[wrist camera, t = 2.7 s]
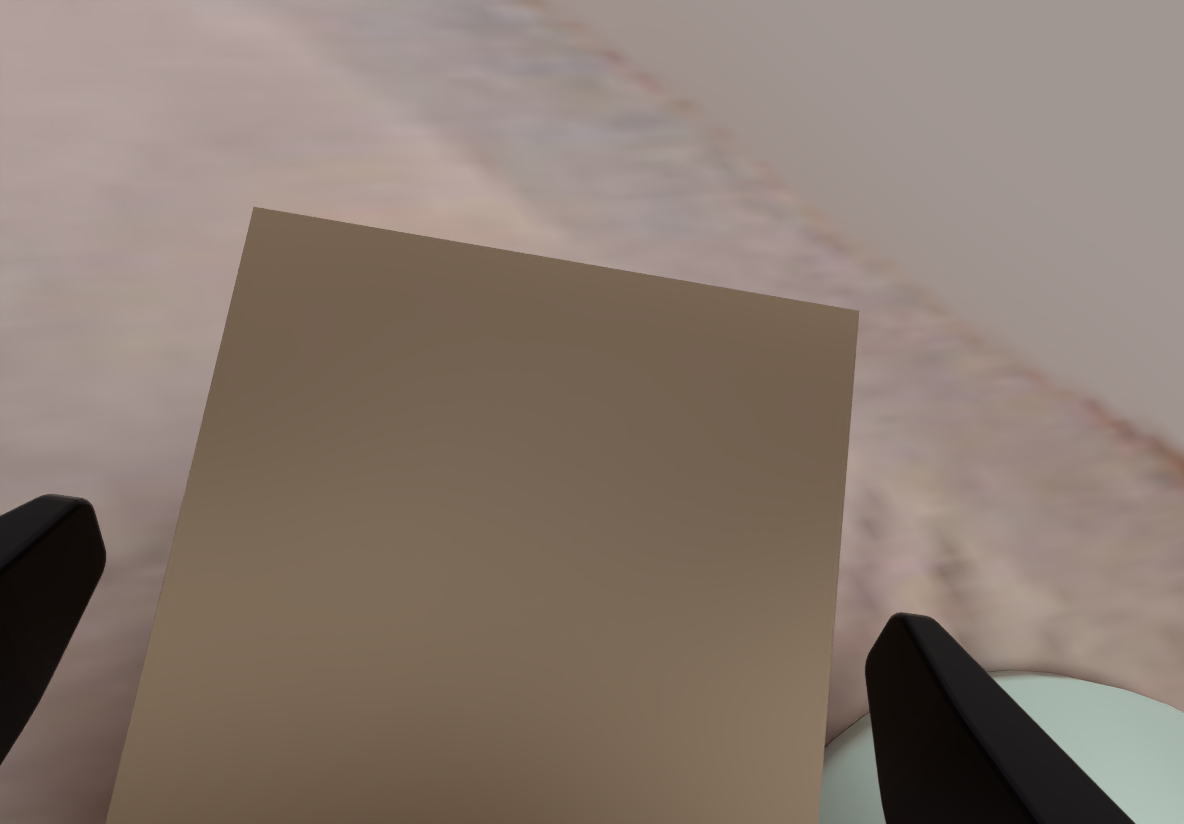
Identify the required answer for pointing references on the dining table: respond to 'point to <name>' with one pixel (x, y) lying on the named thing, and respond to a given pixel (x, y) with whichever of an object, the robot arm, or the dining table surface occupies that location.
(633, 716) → the walnut block
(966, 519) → the dining table surface
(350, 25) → the dining table surface
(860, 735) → the dish
